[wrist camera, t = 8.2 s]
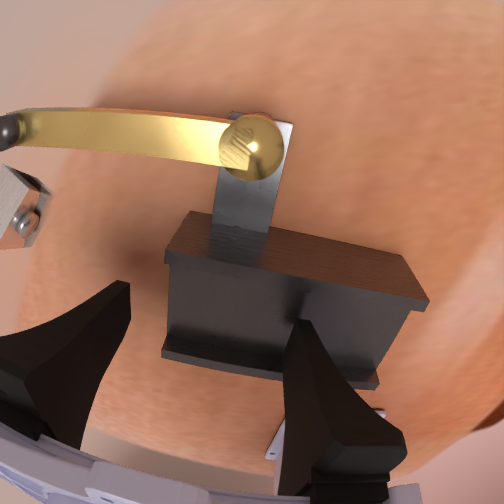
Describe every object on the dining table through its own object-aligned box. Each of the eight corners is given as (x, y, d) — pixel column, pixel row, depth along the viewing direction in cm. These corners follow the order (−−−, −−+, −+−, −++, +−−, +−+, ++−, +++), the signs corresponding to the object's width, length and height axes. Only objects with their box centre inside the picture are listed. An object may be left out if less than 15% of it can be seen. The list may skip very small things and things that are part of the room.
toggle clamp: (361, 339, 19) (374, 390, 15) (180, 307, 18) (161, 357, 15) (436, 162, 13) (480, 188, 10) (206, 102, 13) (180, 107, 9)
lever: (24, 145, 10) (-10, 159, 8) (25, 101, 9) (-11, 108, 7) (277, 175, 10) (277, 195, 8) (288, 120, 9) (292, 127, 7)
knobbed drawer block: (8, 225, 18) (36, 252, 19) (-30, 223, 13) (1, 256, 14) (37, 177, 18) (66, 203, 19) (2, 164, 13) (36, 195, 14)
